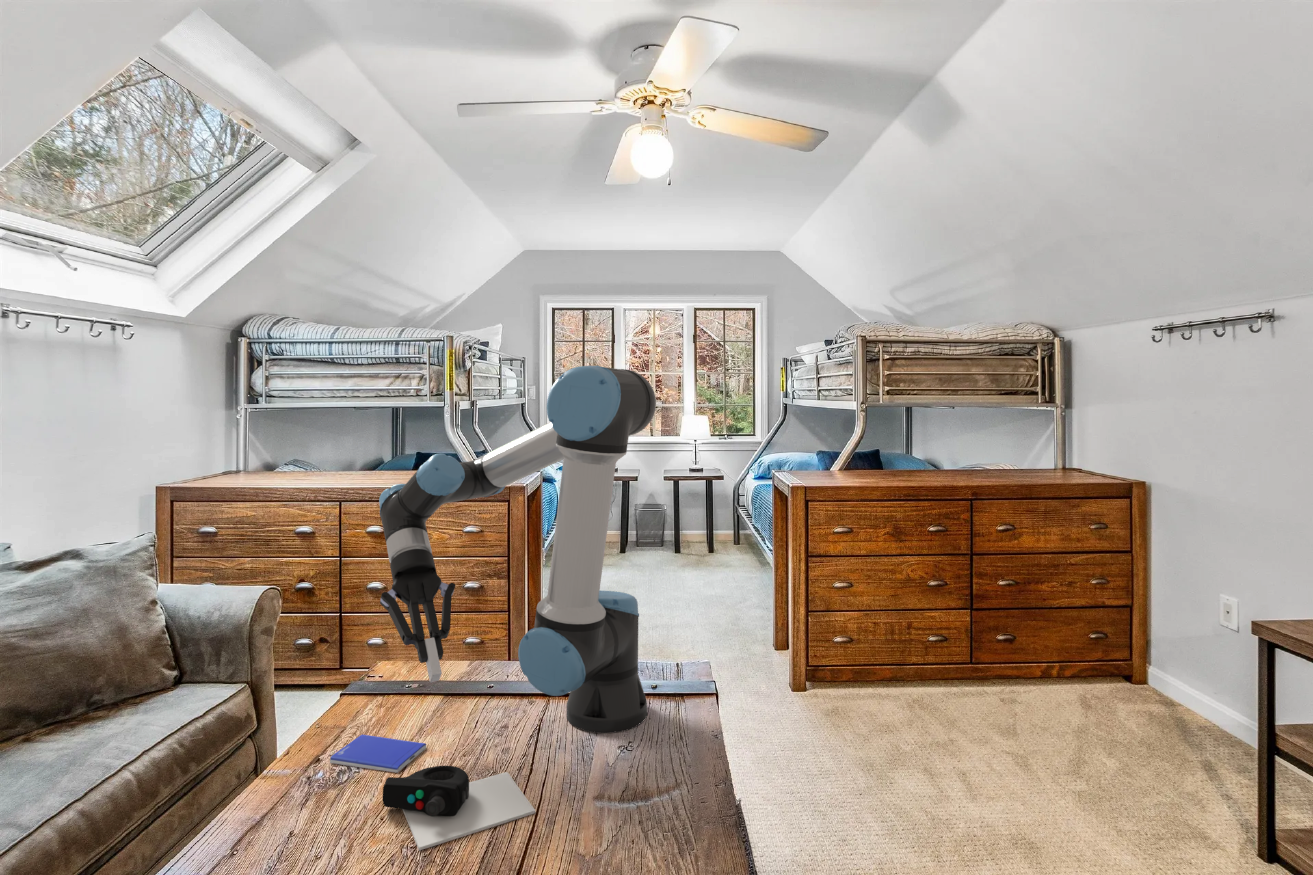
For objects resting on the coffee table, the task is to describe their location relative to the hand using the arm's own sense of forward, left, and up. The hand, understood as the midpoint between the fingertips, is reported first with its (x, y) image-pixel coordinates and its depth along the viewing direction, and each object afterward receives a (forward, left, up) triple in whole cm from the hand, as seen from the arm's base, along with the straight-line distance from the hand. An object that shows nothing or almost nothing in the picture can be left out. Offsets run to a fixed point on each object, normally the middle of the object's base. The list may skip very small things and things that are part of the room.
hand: (435, 677), depth 111 cm
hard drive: (+8, -6, -14) cm, 17 cm away
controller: (+1, +10, -11) cm, 15 cm away
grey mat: (0, +17, -13) cm, 22 cm away
